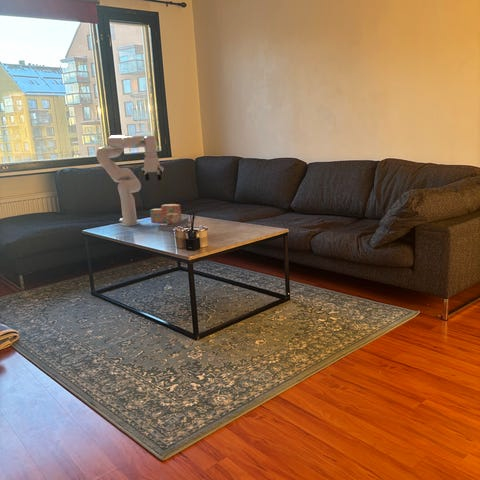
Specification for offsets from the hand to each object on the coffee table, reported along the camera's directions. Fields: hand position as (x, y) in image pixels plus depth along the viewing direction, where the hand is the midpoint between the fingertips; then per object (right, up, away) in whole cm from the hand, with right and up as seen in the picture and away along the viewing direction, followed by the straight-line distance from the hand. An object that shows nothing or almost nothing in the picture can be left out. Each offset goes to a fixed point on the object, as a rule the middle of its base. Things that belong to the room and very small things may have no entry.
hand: (153, 180), depth 331 cm
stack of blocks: (+5, -27, +23) cm, 36 cm away
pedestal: (+14, -30, -3) cm, 33 cm away
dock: (+14, -32, -2) cm, 35 cm away
